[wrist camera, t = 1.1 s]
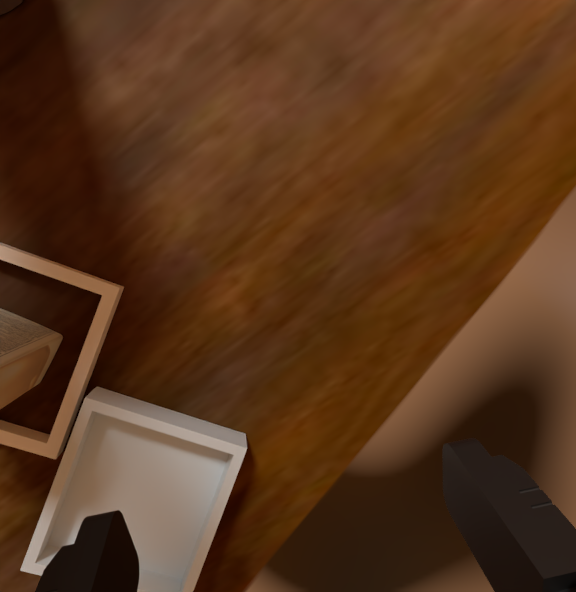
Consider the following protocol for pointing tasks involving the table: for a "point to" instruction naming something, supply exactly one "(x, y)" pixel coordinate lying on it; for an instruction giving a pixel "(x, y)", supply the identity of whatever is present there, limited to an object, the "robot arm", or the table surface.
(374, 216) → the table surface
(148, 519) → the tray
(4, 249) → the holder
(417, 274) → the table surface
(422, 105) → the table surface
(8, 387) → the skincare box
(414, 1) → the table surface
